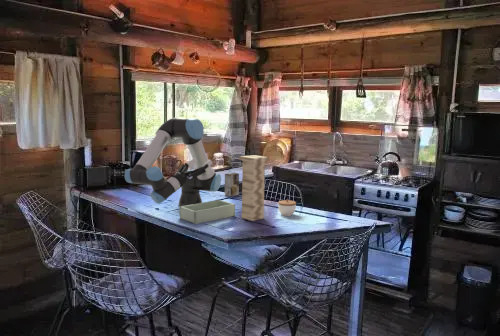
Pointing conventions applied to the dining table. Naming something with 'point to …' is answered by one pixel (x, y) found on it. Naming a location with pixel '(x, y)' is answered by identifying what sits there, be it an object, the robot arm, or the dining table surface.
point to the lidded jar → (287, 207)
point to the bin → (207, 211)
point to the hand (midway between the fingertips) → (203, 160)
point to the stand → (253, 186)
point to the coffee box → (232, 184)
